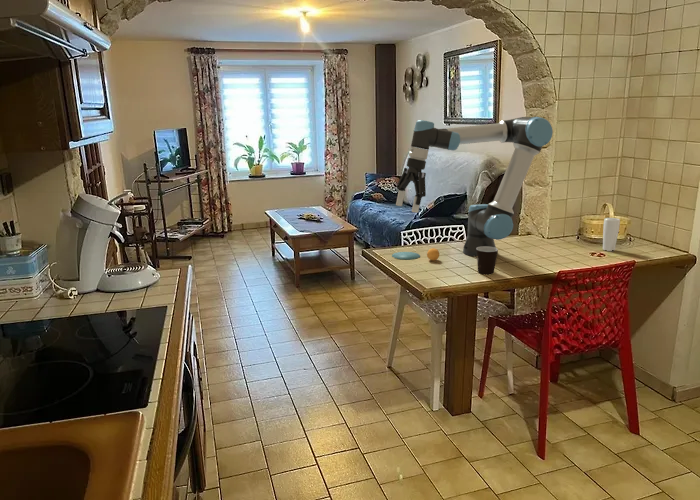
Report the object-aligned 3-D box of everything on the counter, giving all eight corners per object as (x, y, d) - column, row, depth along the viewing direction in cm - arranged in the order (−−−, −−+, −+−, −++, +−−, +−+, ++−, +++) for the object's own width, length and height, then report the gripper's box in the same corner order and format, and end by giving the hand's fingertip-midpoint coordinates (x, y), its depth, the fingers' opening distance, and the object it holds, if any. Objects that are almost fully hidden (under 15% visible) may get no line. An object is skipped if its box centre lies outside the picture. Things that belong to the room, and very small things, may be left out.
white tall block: (617, 249, 249) (621, 218, 245) (615, 252, 244) (619, 221, 240) (601, 247, 253) (605, 217, 249) (599, 250, 247) (603, 219, 243)
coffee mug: (493, 276, 212) (494, 252, 209) (472, 273, 216) (473, 250, 214) (501, 269, 221) (502, 246, 219) (481, 266, 226) (482, 243, 223)
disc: (425, 254, 246) (425, 254, 246) (411, 261, 235) (411, 260, 235) (400, 250, 253) (400, 250, 253) (386, 257, 243) (386, 256, 243)
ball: (441, 259, 237) (441, 248, 235) (435, 262, 233) (436, 250, 231) (430, 258, 240) (430, 246, 239) (424, 260, 236) (424, 248, 234)
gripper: (395, 153, 226) (385, 202, 230) (425, 161, 204) (413, 214, 209) (410, 156, 229) (399, 204, 234) (441, 163, 207) (429, 216, 212)
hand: (406, 209), depth 221 cm, fingers open, 13 cm apart
